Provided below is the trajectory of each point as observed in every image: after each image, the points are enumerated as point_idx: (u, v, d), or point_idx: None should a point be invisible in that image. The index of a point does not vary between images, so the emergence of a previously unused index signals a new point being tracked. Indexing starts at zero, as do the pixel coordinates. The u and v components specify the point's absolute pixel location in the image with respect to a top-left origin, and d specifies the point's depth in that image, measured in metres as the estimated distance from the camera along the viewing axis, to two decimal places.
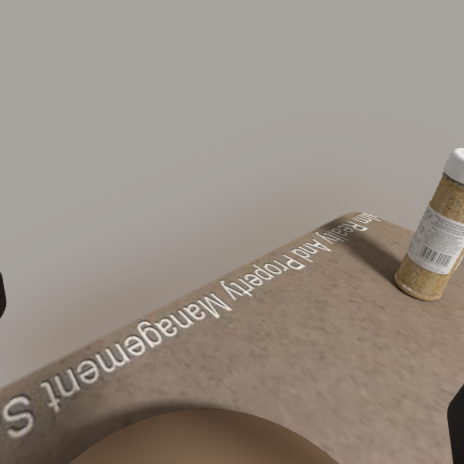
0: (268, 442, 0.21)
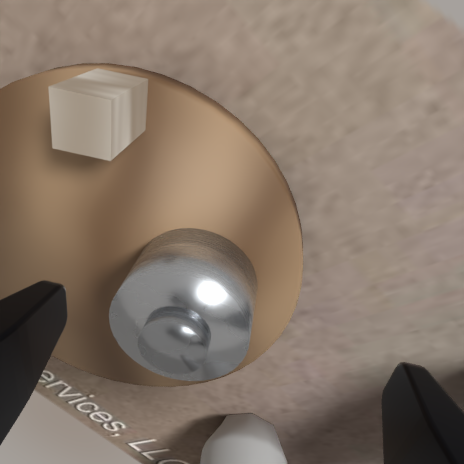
0: None
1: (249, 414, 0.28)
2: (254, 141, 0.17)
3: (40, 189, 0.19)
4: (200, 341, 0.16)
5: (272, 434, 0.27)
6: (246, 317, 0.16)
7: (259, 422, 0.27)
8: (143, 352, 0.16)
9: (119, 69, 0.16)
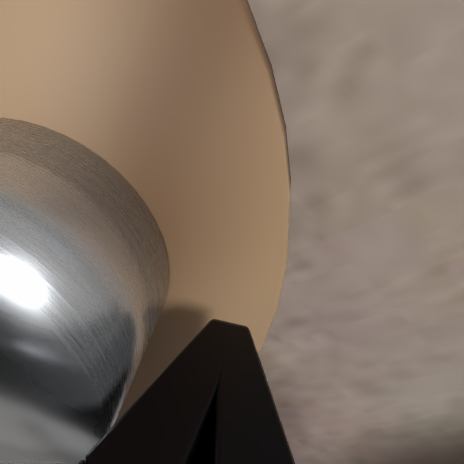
0: None
1: None
2: None
3: None
4: None
5: None
6: (78, 347, 0.05)
7: None
8: None
9: None
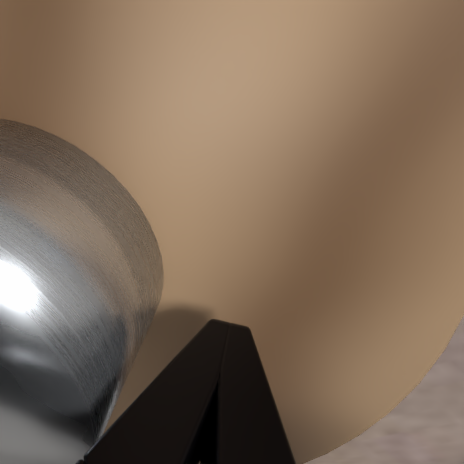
0: None
1: None
2: None
3: None
4: None
5: None
6: (66, 352, 0.05)
7: None
8: None
9: None
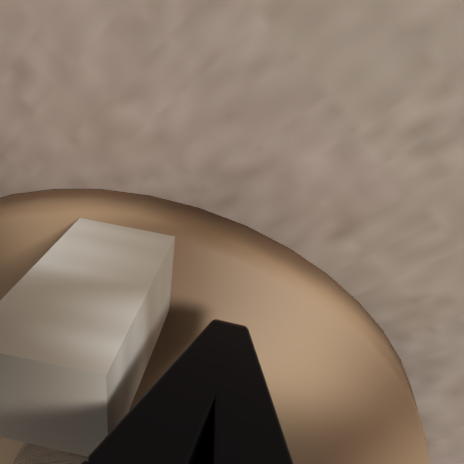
0: None
1: None
2: (358, 316, 0.10)
3: None
4: None
5: None
6: None
7: None
8: None
9: (120, 209, 0.09)
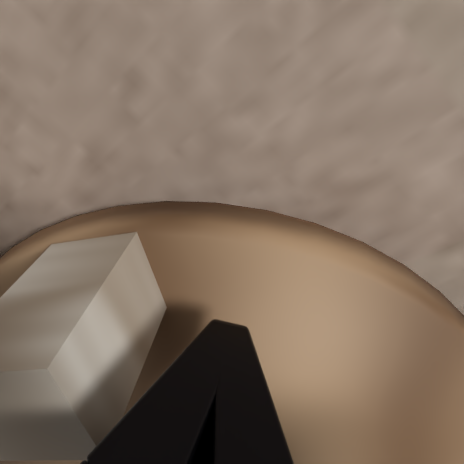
0: None
1: None
2: (361, 256, 0.09)
3: None
4: None
5: None
6: None
7: None
8: None
9: (90, 226, 0.09)
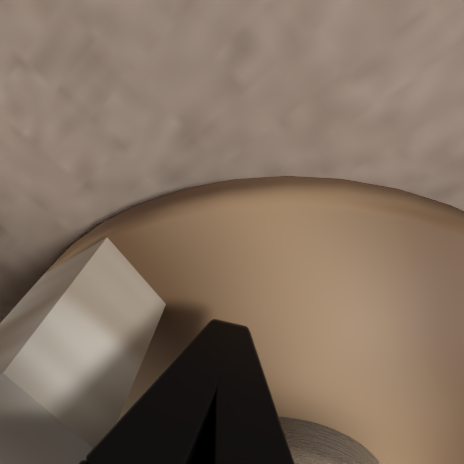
0: None
1: None
2: (338, 191, 0.08)
3: None
4: None
5: None
6: None
7: None
8: None
9: (76, 248, 0.10)
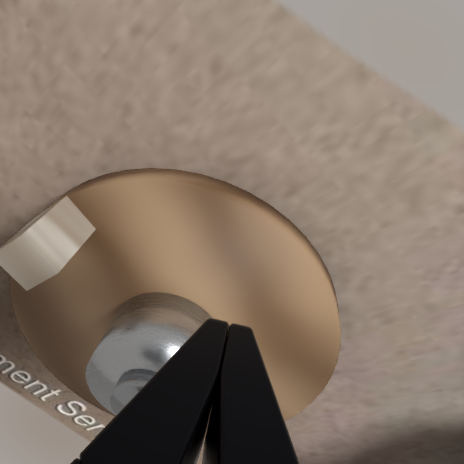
0: (58, 359, 0.24)
1: None
2: (169, 175, 0.18)
3: (82, 318, 0.22)
4: None
5: None
6: (171, 349, 0.18)
7: None
8: None
9: None
